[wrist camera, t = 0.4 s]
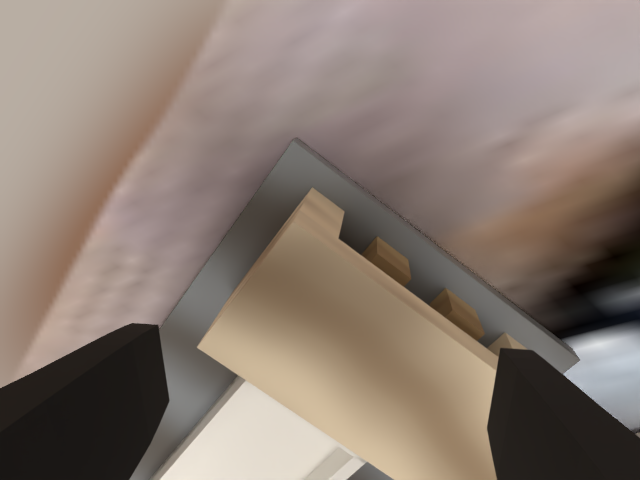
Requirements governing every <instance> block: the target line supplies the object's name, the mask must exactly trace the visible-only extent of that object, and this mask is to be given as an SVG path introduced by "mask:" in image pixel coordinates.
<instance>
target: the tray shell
mask: <svg viewBox="0 0 640 480" xmlns="http://www.w3.org/2000/svg"><path fill="white" fill-rule="evenodd" d="M366 462H367V461H366V460H364V459H363V458H361V457H360V456H358V455H357V454H355V453H354V452H352V451H351V450H349V449H348V448H346V447H345V446H343V445H342V444H340V443H339V442H337V441H336V440H334V439H333V438H331V437H330V436H328V435H327V434H325V433H324V432H322V431H321V430H319V429H318V428H316V427H315V426H313V425H312V424H310V423H309V422H307V421H306V420H304V419H303V418H301V417H300V416H298V415H297V414H295V413H294V412H292V411H291V410H289V409H288V408H286V407H285V406H283V405H282V404H280V403H279V402H277V401H276V400H274V399H273V398H271V397H270V396H269V395H267V394H266V393H264V392H263V391H261V390H260V389H258V388H257V387H255V386H254V385H252V384H251V383H249V382H248V381H246V380H245V379H243V378H242V377H240V376H239V375H238V376H237V377H236V378H235V379H234V381H233V382H232V383H231V384H230V385H229V386H228V388H227V389H226V390H225V391H224V392H223V394H222V395H221V396H220V397H219V398H218V399H217V401H216V402H215V403H214V404H213V405H212V406H211V408H210V409H209V410H208V411H207V412H206V414H205V415H204V416H203V417H202V418H201V419H200V421H199V422H198V423H197V424H196V425H195V426H194V428H193V429H192V430H191V431H190V432H189V434H188V435H187V436H186V437H185V438H184V439H183V441H182V442H181V443H180V444H179V445H178V446H177V448H176V449H175V450H174V451H173V452H172V453H171V455H170V456H169V457H168V458H167V459H166V461H165V462H164V463H163V464H162V465H161V466H160V468H159V469H158V470H157V471H156V472H155V473H154V475H153V476H152V477H151V478H150V479H149V480H347V479H348V478H349V477H350V476H351V475H352V474H354V473H355V472H356V471H357V470H358V469H359V468H360V467H362V466H363V465H364V464H365V463H366Z"/></svg>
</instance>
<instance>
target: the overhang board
mask: <svg viewBox="0 0 640 480" xmlns="http://www.w3.org/2000/svg"><path fill="white" fill-rule="evenodd" d="M159 334H160V341H161V347H162V354H163V360H164V367H165V373H166V380H167V387H168V393H169V400H170V401H169V403H168V406H167V408H166V411H165V413H164V415H163V418H162V420H161V422H160V425H159V427H158V429H157V431H156V433H155V435H154V438H153V440H152V442H151V444H150V446H149V447H148V449H147V451H146V453H145V454H144V456H143V458H142V459H141V461H140V463H139V464H138V466H137V468H136V469H135V471H134V473H133V474H132V476H131V478H130V479H129V480H149V479H150V478H151V477H152V476H153V475H154V473H155V472H156V471H157V470H158V469H159V468H160V466H161V465H162V464H163V463H164V462H165V461H166V459H167V458H168V457H169V456H170V455H171V453H172V452H173V451H174V450H175V449H176V448H177V446H178V445H179V444H180V443H181V442H182V441H183V439H184V438H185V437H186V436H187V435H188V434H189V432H190V431H191V430H192V429H193V428H194V426H195V425H196V424H197V423H198V422H199V421H200V419H201V418H202V417H203V416H204V415H205V414H206V412H207V411H208V410H209V409H210V408H211V406H212V405H213V404H214V403H215V402H216V401H217V399H218V398H219V397H220V396H221V395H222V394H223V392H224V391H225V390H226V389H227V388H228V386H229V385H230V384H231V383H232V382H233V381H234V379H235V378H236V377H237V376H238V375H239V376H240V377H242V378H243V379H245V380H246V381H248V382H249V383H251V384H252V385H254V386H255V387H257V388H258V389H260V390H261V391H263V392H264V393H266V394H267V395H269V396H270V397H271V398H273V399H274V400H276V401H277V402H279V403H280V404H282V405H283V406H285V407H286V408H288V409H289V410H291V411H292V412H294V413H295V414H297V415H298V416H300V417H301V418H303V419H304V420H306V421H307V422H309V423H310V424H312V425H313V426H315V427H316V428H318V429H319V430H321V431H322V432H324V433H325V434H327V435H328V436H330V437H331V438H333V439H334V440H336V441H337V442H339V443H340V444H342V445H343V446H345V447H346V448H348V449H349V450H351V451H352V452H354V453H355V454H357V455H358V456H360V457H361V458H363V459H364V460H366V461H367V462H366V463H365V464H364V465H363V466H362V467H360V468H359V469H358V470H357V471H356V472H355V473H354V474H352V475H351V476H350V477H349V478H348V479H347V480H497V477H496V473H495V468H494V463H493V458H492V453H491V448H490V443H489V437H488V432H487V424H488V418H489V412H490V406H491V400H492V394H493V388H494V382H495V376H496V370H497V364H498V359H499V353H500V348H512V349H527V350H533V351H535V352H536V353H537V354H538V355H540V356H541V357H542V358H543V359H545V360H546V361H547V362H548V363H550V364H551V365H552V366H553V367H554V368H556V369H557V370H558V371H559V372H560V373H561V374H563V373H565V372H566V371H567V370H568V369H570V368H571V367H572V366H574V365H575V364H576V363H577V362H579V361H580V359H579V358H578V356H577V355H576V353H575V352H574V351H573V349H572V348H570V347H569V346H568V345H567V344H565V343H564V342H563V341H561V340H560V339H559V338H557V337H556V336H555V335H553V334H552V333H551V332H550V331H548V330H547V329H546V328H544V327H543V326H542V325H540V324H539V323H538V322H536V321H535V320H534V319H533V318H531V317H530V316H529V315H527V314H526V313H525V312H523V311H522V310H521V309H520V308H518V307H517V306H516V305H514V304H513V303H512V302H510V301H509V300H508V299H506V298H505V297H504V296H503V295H501V294H500V293H499V292H497V291H496V290H495V289H493V288H492V287H491V286H489V285H488V284H487V283H486V282H484V281H483V280H482V279H480V278H479V277H478V276H476V275H475V274H474V273H473V272H471V271H470V270H469V269H467V268H466V267H465V266H463V265H462V264H461V263H459V262H458V261H457V260H456V259H454V258H453V257H452V256H450V255H449V254H448V253H446V252H445V251H444V250H442V249H441V248H440V247H439V246H437V245H436V244H435V243H433V242H432V241H431V240H429V239H428V238H427V237H426V236H424V235H423V234H422V233H420V232H419V231H418V230H416V229H415V228H414V227H412V226H411V225H410V224H409V223H407V222H406V221H405V220H403V219H402V218H401V217H399V216H398V215H397V214H395V213H394V212H393V211H392V210H390V209H389V208H388V207H386V206H385V205H384V204H382V203H381V202H380V201H379V200H377V199H376V198H375V197H373V196H372V195H371V194H369V193H368V192H367V191H365V190H364V189H363V188H362V187H360V186H359V185H358V184H356V183H355V182H354V181H352V180H351V179H350V178H348V177H347V176H346V175H345V174H343V173H342V172H341V171H339V170H338V169H337V168H335V167H334V166H333V165H332V164H330V163H329V162H328V161H326V160H325V159H324V158H322V157H321V156H320V155H318V154H317V153H316V152H315V151H313V150H312V149H311V148H309V147H308V146H307V145H305V144H304V143H303V142H301V141H300V140H299V139H298V138H295V139H294V140H293V141H292V142H291V144H290V145H289V147H288V148H287V150H286V151H285V152H284V154H283V155H282V157H281V158H280V159H279V161H278V162H277V164H276V165H275V167H274V168H273V169H272V171H271V172H270V174H269V175H268V176H267V178H266V179H265V181H264V182H263V184H262V185H261V186H260V188H259V189H258V191H257V192H256V193H255V195H254V196H253V198H252V199H251V201H250V202H249V203H248V205H247V206H246V208H245V209H244V210H243V212H242V213H241V215H240V216H239V218H238V219H237V220H236V222H235V223H234V225H233V226H232V227H231V229H230V230H229V232H228V233H227V235H226V236H225V237H224V239H223V240H222V242H221V243H220V244H219V246H218V247H217V249H216V250H215V252H214V253H213V254H212V256H211V257H210V259H209V260H208V262H207V263H206V264H205V266H204V267H203V269H202V270H201V271H200V273H199V274H198V276H197V277H196V279H195V280H194V281H193V283H192V284H191V286H190V287H189V288H188V290H187V291H186V293H185V294H184V296H183V297H182V298H181V300H180V301H179V303H178V304H177V305H176V307H175V308H174V310H173V311H172V313H171V314H170V315H169V317H168V318H167V320H166V321H165V322H164V324H163V325H162V327H161V328H160V330H159Z"/></svg>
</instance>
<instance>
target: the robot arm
mask: <svg viewBox="0 0 640 480" xmlns="http://www.w3.org/2000/svg"><path fill="white" fill-rule="evenodd" d="M169 401H170V400H169V393H168V387H167V380H166V373H165V367H164V360H163V354H162V347H161V341H160V334H159V327H158V325H151V324H136V323H131V324H129V325H126V326H124V327H122V328H119V329H117V330H115V331H113V332H111V333H109V334H107V335H105V336H103V337H101V338H99V339H97V340H95V341H93V342H91V343H89V344H87V345H85V346H83V347H81V348H79V349H77V350H76V351H74V352H72V353H70V354H68V355H66V356H64V357H62V358H60V359H58V360H56V361H54V362H52V363H50V364H49V365H47V366H45V367H43V368H41V369H39V370H37V371H35V372H33V373H31V374H29V375H27V376H25V377H23V378H21V379H19V380H17V381H14V382H12V383H10V384H8V385H6V386H4V387H2V388H0V480H129V479H130V478H131V476H132V474H133V473H134V471H135V469H136V468H137V466H138V464H139V463H140V461H141V459H142V458H143V456H144V454H145V453H146V451H147V449H148V447H149V446H150V444H151V442H152V440H153V438H154V435H155V433H156V431H157V429H158V427H159V425H160V422H161V420H162V418H163V415H164V413H165V411H166V408H167V406H168V403H169ZM487 432H488V437H489V443H490V448H491V453H492V458H493V463H494V468H495V473H496V477H497V480H640V438H639V437H638V436H637V435H636V434H634V433H633V432H632V431H630V430H629V429H628V428H627V427H625V426H624V425H623V424H622V423H620V422H619V421H618V420H617V419H615V418H614V417H613V416H612V415H610V414H609V413H608V412H607V411H606V410H604V409H603V408H602V407H601V406H599V405H598V404H597V403H596V402H595V401H593V400H592V399H591V398H590V397H589V396H587V395H586V394H585V393H584V392H583V391H582V390H580V389H579V388H578V387H577V386H576V385H574V384H573V383H572V382H571V381H570V380H569V379H567V378H566V377H565V376H564V375H563V374H561V373H560V372H559V371H558V370H557V369H556V368H554V367H553V366H552V365H551V364H550V363H548V362H547V361H546V360H545V359H543V358H542V357H541V356H540V355H538V354H537V353H536V352H535V351H533V350H527V349H512V348H500V353H499V359H498V364H497V370H496V376H495V382H494V388H493V394H492V400H491V406H490V412H489V418H488V424H487Z"/></svg>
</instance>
